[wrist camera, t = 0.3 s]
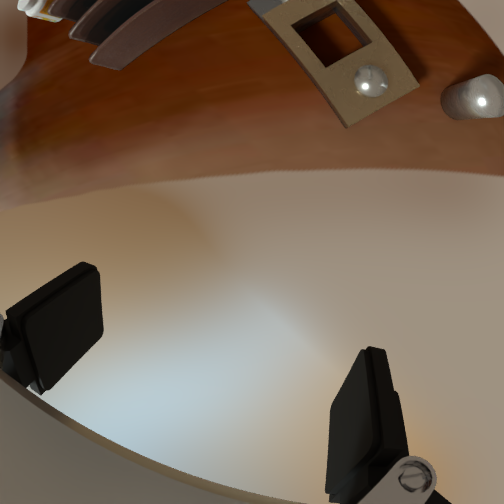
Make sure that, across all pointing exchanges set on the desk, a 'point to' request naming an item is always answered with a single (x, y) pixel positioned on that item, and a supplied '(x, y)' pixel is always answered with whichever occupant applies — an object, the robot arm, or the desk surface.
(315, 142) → the desk surface
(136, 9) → the letter holder
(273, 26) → the square hole plate
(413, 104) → the desk surface
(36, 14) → the supplement bottle
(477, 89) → the steel pin
